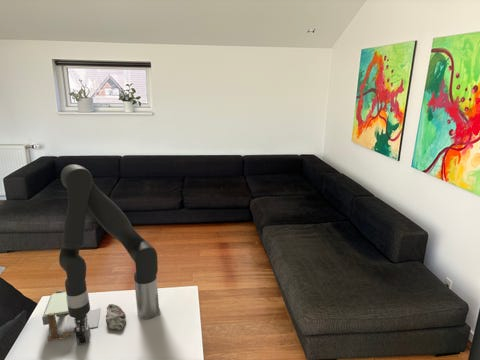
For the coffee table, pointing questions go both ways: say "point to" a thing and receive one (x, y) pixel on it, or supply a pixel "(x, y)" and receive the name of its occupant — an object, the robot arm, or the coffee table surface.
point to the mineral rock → (115, 317)
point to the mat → (92, 319)
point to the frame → (55, 326)
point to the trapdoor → (55, 306)
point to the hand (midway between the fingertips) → (83, 338)
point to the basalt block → (87, 334)
